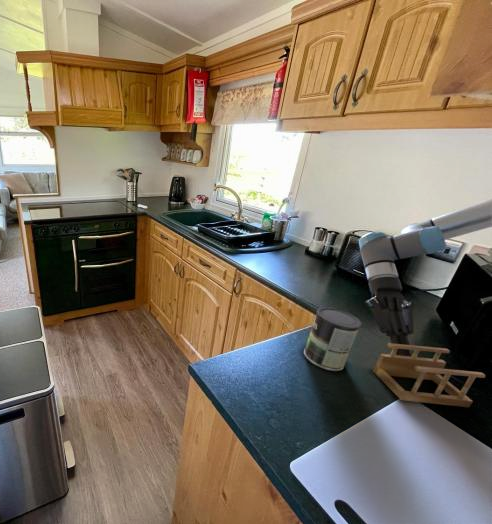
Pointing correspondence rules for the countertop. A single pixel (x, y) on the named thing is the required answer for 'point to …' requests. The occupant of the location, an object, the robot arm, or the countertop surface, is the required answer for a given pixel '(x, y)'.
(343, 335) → the coffee can
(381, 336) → the countertop surface
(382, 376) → the rack
